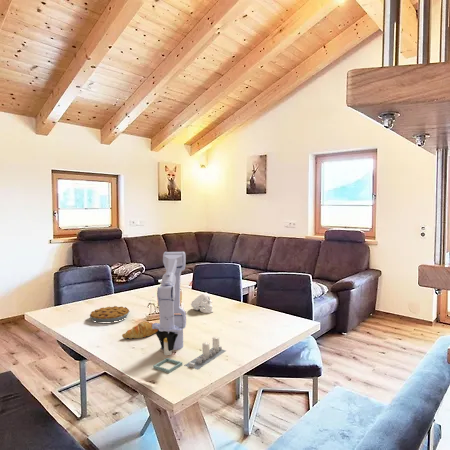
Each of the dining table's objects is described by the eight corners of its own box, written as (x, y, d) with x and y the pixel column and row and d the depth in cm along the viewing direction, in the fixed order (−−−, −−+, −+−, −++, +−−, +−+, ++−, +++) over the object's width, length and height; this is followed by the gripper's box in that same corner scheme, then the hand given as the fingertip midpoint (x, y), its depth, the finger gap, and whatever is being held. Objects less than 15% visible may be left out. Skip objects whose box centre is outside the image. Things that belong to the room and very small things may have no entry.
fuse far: (211, 351, 159) (211, 338, 159) (215, 349, 162) (214, 336, 161) (217, 353, 158) (216, 339, 157) (220, 350, 160) (220, 337, 160)
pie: (134, 313, 220) (134, 304, 220) (121, 325, 198) (120, 316, 198) (100, 312, 222) (100, 304, 222) (82, 324, 200) (82, 315, 200)
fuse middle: (201, 358, 153) (200, 344, 152) (205, 355, 155) (205, 341, 155) (207, 359, 151) (206, 345, 151) (211, 357, 154) (210, 343, 153)
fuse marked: (162, 354, 145) (161, 339, 145) (167, 351, 148) (167, 337, 147) (167, 355, 143) (167, 341, 143) (173, 353, 146) (172, 338, 145)
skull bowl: (208, 313, 213) (199, 294, 216) (194, 321, 221) (186, 303, 224) (219, 308, 221) (211, 290, 224) (205, 317, 229) (197, 299, 232)
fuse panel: (184, 367, 146) (183, 362, 146) (213, 349, 164) (213, 344, 164) (198, 371, 143) (197, 366, 143) (226, 352, 160) (226, 347, 160)
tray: (153, 369, 144) (153, 365, 144) (167, 362, 151) (167, 357, 151) (169, 375, 140) (168, 370, 140) (182, 366, 147) (182, 362, 147)
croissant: (125, 348, 175) (127, 336, 172) (117, 333, 182) (119, 322, 178) (164, 337, 188) (167, 325, 184) (156, 323, 194) (158, 312, 191)
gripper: (146, 315, 145) (147, 348, 146) (174, 321, 137) (175, 356, 138) (158, 311, 151) (159, 342, 152) (185, 316, 143) (186, 350, 144)
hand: (167, 349), depth 145 cm, fingers closed on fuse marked, 3 cm apart
